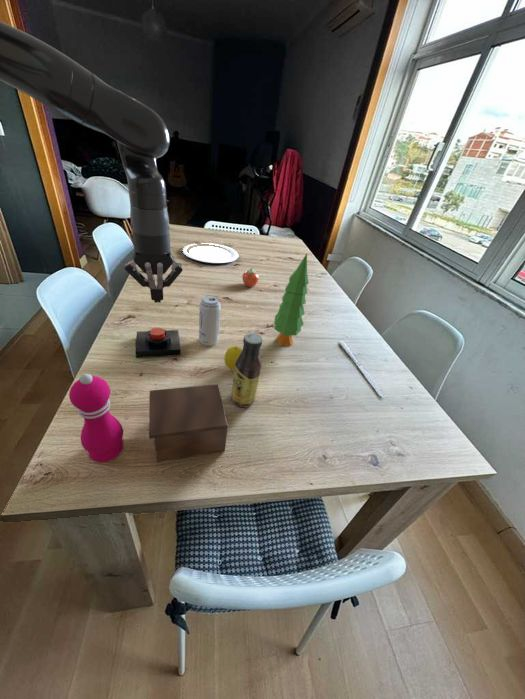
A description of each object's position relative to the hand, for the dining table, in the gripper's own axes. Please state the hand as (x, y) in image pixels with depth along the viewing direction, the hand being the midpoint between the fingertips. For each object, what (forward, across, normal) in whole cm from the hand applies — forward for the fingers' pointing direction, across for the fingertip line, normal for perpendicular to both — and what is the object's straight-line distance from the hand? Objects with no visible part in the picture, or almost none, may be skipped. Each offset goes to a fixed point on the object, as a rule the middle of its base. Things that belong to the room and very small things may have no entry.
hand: (157, 301), depth 72 cm
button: (+15, +1, -6) cm, 16 cm away
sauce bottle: (+18, -19, +19) cm, 33 cm away
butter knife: (+19, -60, +10) cm, 63 cm away
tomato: (+19, -37, -48) cm, 64 cm away
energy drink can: (+19, -14, -7) cm, 24 cm away
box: (+18, -5, +27) cm, 33 cm away
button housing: (+18, +1, -6) cm, 19 cm away
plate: (+19, -25, -84) cm, 90 cm away
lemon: (+19, -19, +7) cm, 28 cm away
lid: (+10, -5, +27) cm, 29 cm away
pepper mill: (+18, +11, +28) cm, 35 cm away
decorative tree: (+19, -39, -5) cm, 44 cm away
